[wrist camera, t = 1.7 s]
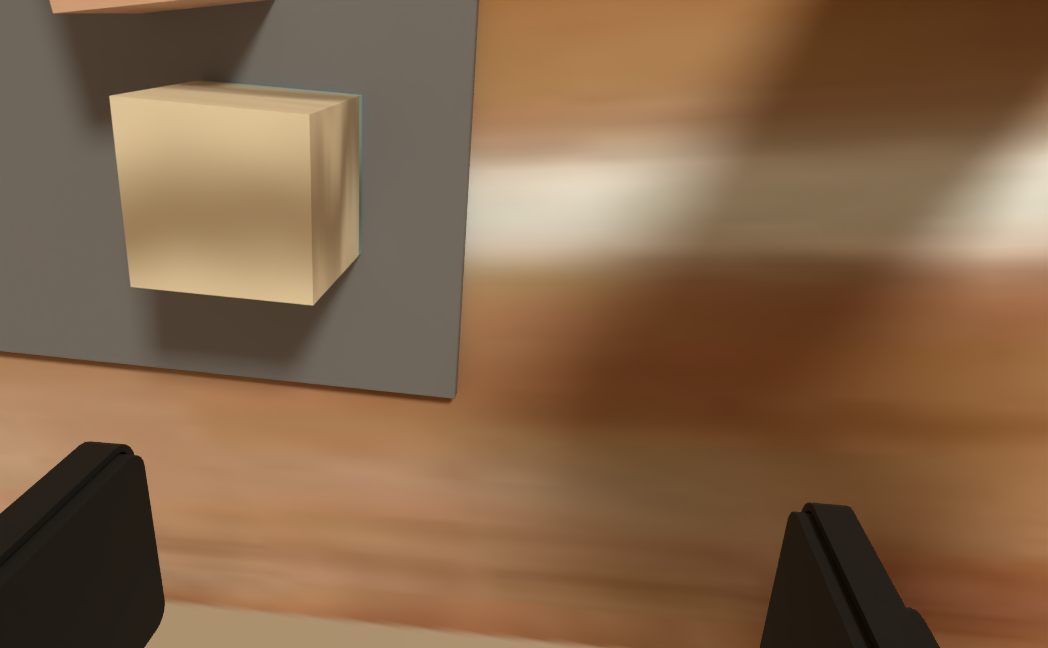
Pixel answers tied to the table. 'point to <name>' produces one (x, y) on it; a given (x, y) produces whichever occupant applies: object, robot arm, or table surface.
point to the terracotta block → (133, 5)
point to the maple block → (239, 188)
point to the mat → (257, 59)
